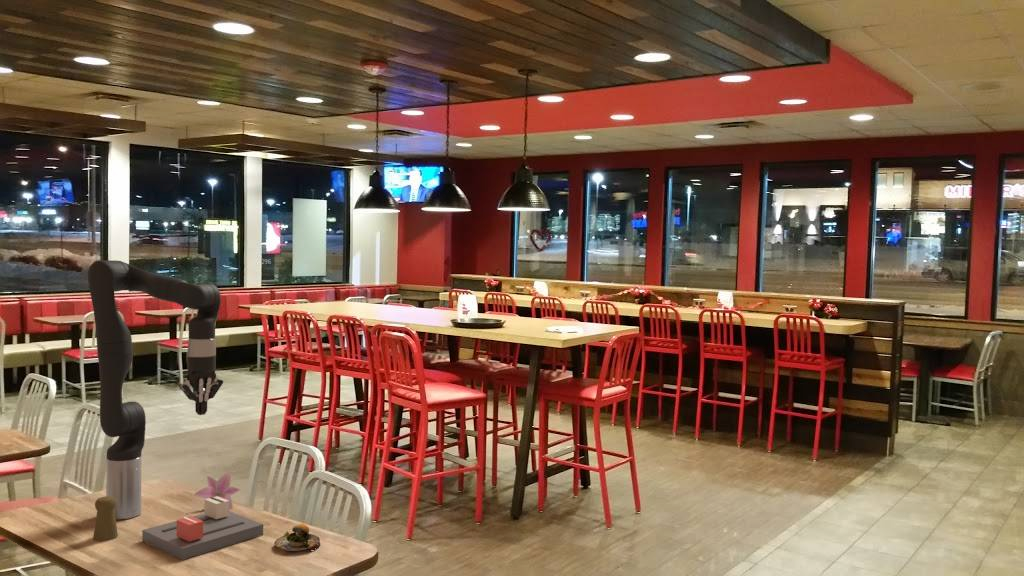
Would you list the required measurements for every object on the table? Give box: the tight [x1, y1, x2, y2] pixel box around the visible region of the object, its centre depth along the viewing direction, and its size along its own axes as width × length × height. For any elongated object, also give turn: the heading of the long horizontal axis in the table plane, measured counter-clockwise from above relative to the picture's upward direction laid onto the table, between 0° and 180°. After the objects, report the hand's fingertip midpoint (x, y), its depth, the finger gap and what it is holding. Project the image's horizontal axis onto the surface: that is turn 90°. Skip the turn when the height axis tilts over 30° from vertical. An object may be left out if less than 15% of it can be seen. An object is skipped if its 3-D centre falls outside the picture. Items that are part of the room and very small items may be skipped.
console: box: [141, 510, 264, 561], centre depth 217 cm, size 20×24×3 cm
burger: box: [273, 517, 321, 552], centre depth 212 cm, size 12×12×8 cm
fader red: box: [176, 515, 203, 542], centre depth 208 cm, size 6×4×5 cm, turn 53°
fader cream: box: [203, 496, 230, 519], centre depth 225 cm, size 6×4×5 cm, turn 53°
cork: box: [92, 496, 119, 542], centre depth 215 cm, size 6×6×11 cm
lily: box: [194, 471, 241, 511], centre depth 243 cm, size 12×12×10 cm
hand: (201, 414), depth 225 cm, fingers closed
